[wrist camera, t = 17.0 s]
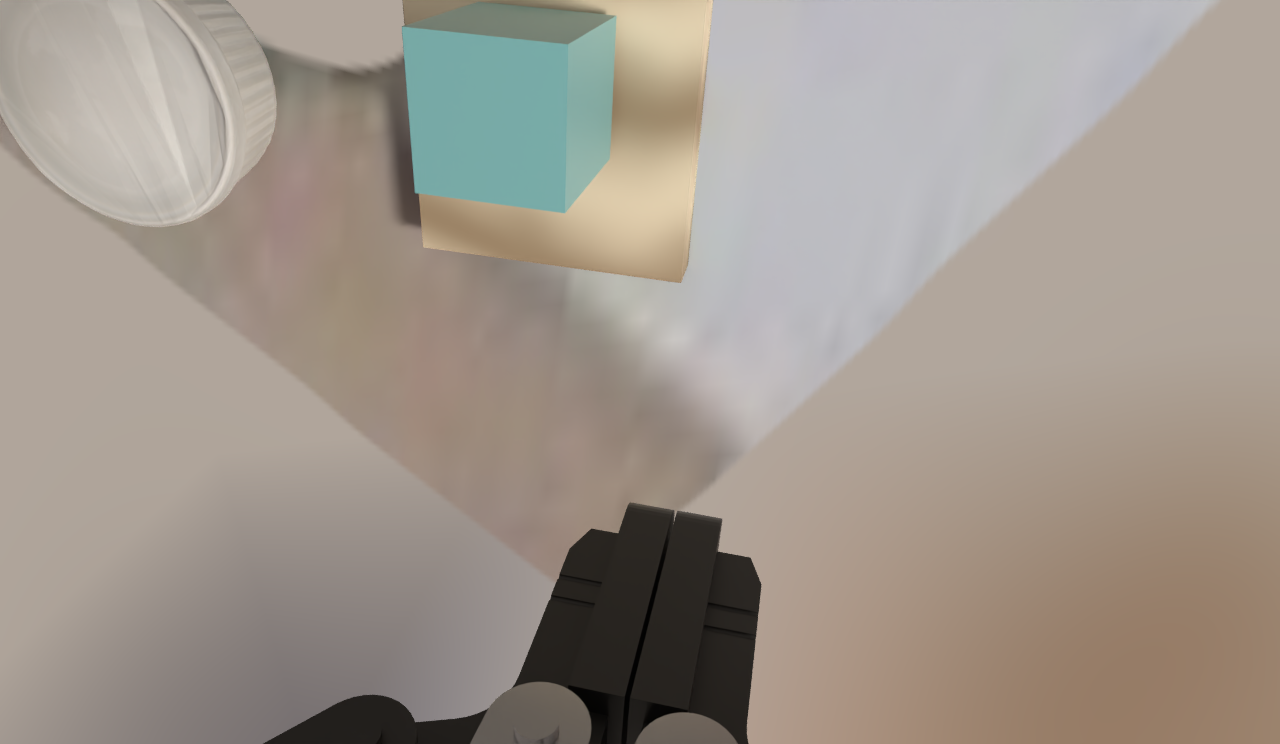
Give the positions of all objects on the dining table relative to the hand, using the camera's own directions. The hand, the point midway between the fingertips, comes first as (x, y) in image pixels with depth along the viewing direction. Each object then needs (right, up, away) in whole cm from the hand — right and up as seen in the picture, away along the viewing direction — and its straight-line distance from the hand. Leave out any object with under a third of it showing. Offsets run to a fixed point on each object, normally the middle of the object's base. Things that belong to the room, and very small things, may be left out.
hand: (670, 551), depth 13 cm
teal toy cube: (-4, +14, +19) cm, 24 cm away
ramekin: (-21, +17, +25) cm, 37 cm away
